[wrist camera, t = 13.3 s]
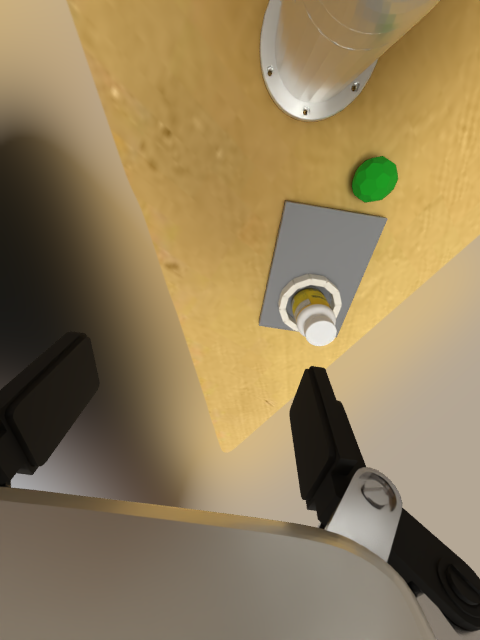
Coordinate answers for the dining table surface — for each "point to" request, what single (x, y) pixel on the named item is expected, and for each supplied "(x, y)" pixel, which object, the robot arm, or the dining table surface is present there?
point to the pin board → (318, 259)
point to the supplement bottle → (314, 316)
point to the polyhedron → (374, 179)
